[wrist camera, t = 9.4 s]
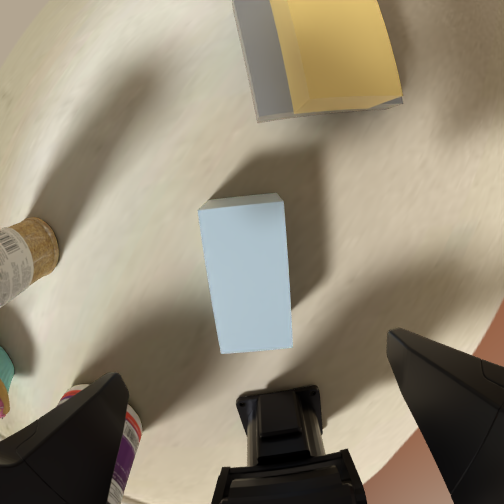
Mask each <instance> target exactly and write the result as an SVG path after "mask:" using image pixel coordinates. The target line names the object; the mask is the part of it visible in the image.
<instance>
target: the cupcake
mask: <svg viewBox="0 0 504 504" xmlns="http://www.w3.org/2000/svg"><path fill="white" fill-rule="evenodd" d="M13 376H14V367H13V364H12V362H11V360H10V358H9V356H8V355H7V353H6V352H5V351H4V349H3V348H2V347H1V346H0V418H2V419H3V417H5V416H6V414H7V413H8V412H9V411H10V405H9V396H8V391H9V387H10V383H11V381H12V378H13Z"/></svg>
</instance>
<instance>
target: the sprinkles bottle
mask: <svg viewBox="0 0 504 504" xmlns="http://www.w3.org/2000/svg"><path fill="white" fill-rule="evenodd" d="M58 256H59V248H58V244H57V239H56V237H55V235H54V232H53V230H52V229H51V228H50V226H49V225H48V224H47V223H45V222H44V221H43V220H41V219H39V218H37V217H31V218H26V219H24V220H23V221H22V222H21V223H18V224H15V225H13V226H10V227H8V228H7V227H5V228H1V229H0V308H1V307H2V306H4V305H5V304H7V303H8V302H9V301H11V300H12V299H13V298H15V297H16V296H17V295H19V294H20V293H21V292H23V291H24V290H25V289H27V288H28V287H29V286H30V285H31V284H33V283H34V282H35V281H37V280H38V279H40V278H41V277H43V276H46V275H48V274H50V273H51V272H52V271H53V270H54V268H55V267H56V265H57V262H58Z"/></svg>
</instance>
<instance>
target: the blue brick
mask: <svg viewBox="0 0 504 504" xmlns="http://www.w3.org/2000/svg"><path fill="white" fill-rule="evenodd" d="M198 216H199V223H200V231H201V237H202V244H203V251H204V258H205V264H206V270H207V277H208V283H209V289H210V295H211V301H212V307H213V313H214V318H215V324H216V329H217V335H218V340H219V346H220V351H221V354H227V353H241V352H253V351H264V350H275V349H284V348H293V341H292V319H291V301H290V283H289V267H288V253H287V238H286V225H285V212H284V201H283V200H282V199H281V198H280V196H279V195H278V194H277V193H268V194H258V195H248V196H238V197H229V198H220V199H212V200H208V201H207V202H206V203H205V204H204V205H203V206H202V207H201V208H200V209H199V210H198Z"/></svg>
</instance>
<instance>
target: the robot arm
mask: <svg viewBox="0 0 504 504" xmlns="http://www.w3.org/2000/svg"><path fill="white" fill-rule="evenodd" d="M387 357H388V360H389V362H390V365H391V367H392V370H393V373H394V375H395V378H396V380H397V383H398V386H399V388H400V391H401V393H402V395H403V397H404V399H405V401H406V403H407V405H408V407H409V409H410V411H411V413H412V415H413V417H414V419H415V421H416V423H417V425H418V427H419V429H420V431H421V432H422V435H423V437H424V439H425V441H426V443H427V445H428V447H429V449H430V451H431V453H432V455H433V457H434V459H435V462H436V464H437V466H438V468H439V470H440V472H441V475H442V477H443V479H444V481H445V484H446V486H447V488H448V490H449V492H450V494H451V498H452V500H453V502H454V504H504V367H502V366H499V365H497V364H494V363H491V362H488V361H486V360H481V359H480V358H477V357H475V356H472V355H470V354H467V353H464V352H462V351H459V350H456V349H454V348H451V347H449V346H446V345H443V344H441V343H438V342H436V341H433V340H431V339H428V338H425V337H423V336H420V335H418V334H415V333H413V332H410V331H407V330H405V329H402V328H396V329H392V330H389V332H388V334H387ZM312 391H314V392H312ZM128 399H129V392H128V389H127V387H126V385H125V383H124V381H123V379H122V378H121V376H120V374H119V373H117V372H114V373H106V374H105V375H104V376H102V377H101V378H99V379H98V380H96V381H95V382H93V383H92V384H90V385H89V386H87V387H86V388H84V389H83V390H81V391H80V392H78V393H77V394H75V395H74V396H72V397H71V398H69V399H68V400H66V401H65V402H63V403H62V404H60V405H59V406H57V407H56V408H54V409H53V410H51V411H50V412H48V413H47V414H45V415H44V416H42V417H41V418H39V420H36V421H34V422H33V423H31V424H30V425H28V426H27V427H25V428H23V429H22V430H20V431H18V432H17V433H15V434H13V435H11V436H9V437H8V438H6V439H4V440H2V441H0V504H107V501H108V496H109V491H110V486H111V482H112V477H113V473H114V468H115V464H116V460H117V456H118V452H119V448H120V444H121V440H122V436H123V431H124V425H125V419H126V412H127V405H128ZM242 403H243V404H242ZM236 406H237V409H238V412H239V415H240V418H241V421H242V424H243V427H244V429H245V432H246V435H247V467H235V468H230V467H222V469H221V473H220V476H219V477H218V480H217V484H216V488H215V491H214V495H213V499H212V502H211V504H367V500H366V495H365V491H364V488H363V485H362V482H361V480H360V477H359V475H358V472H357V470H356V468H355V465H354V463H353V460H352V458H351V456H350V453H349V451H348V449H344V450H340V452H336V453H331V454H327V455H326V454H325V450H324V445H323V441H322V437H321V435H322V433H323V431H322V418H321V405H320V393H319V389H318V387H317V386H307V387H302V388H297V389H292V390H286V391H280V392H274V393H268V394H261V395H254V396H246V397H240V398H238V399H237V400H236Z"/></svg>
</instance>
